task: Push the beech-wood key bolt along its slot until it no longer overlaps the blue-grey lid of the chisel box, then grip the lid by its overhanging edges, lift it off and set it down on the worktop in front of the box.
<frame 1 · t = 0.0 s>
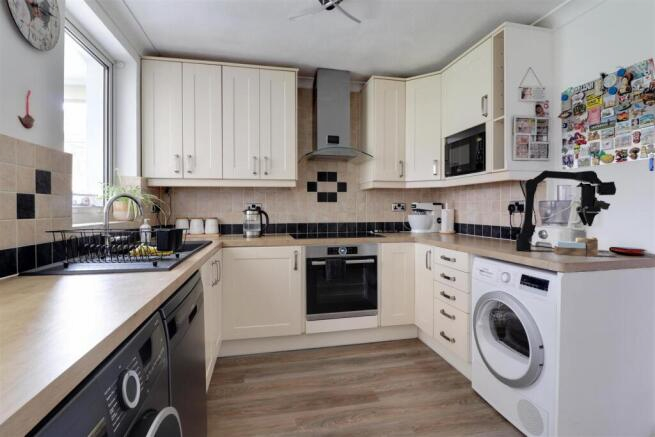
hand: (587, 225, 161), 15 cm above the countertop, fingers open, 9 cm apart
chisel box: (569, 254, 159), on the countertop
lid: (569, 246, 159), point 4 cm above the countertop, touching chisel box
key: (585, 239, 156), point 8 cm above the countertop, slide at 0.0 cm
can: (577, 251, 174), on the countertop
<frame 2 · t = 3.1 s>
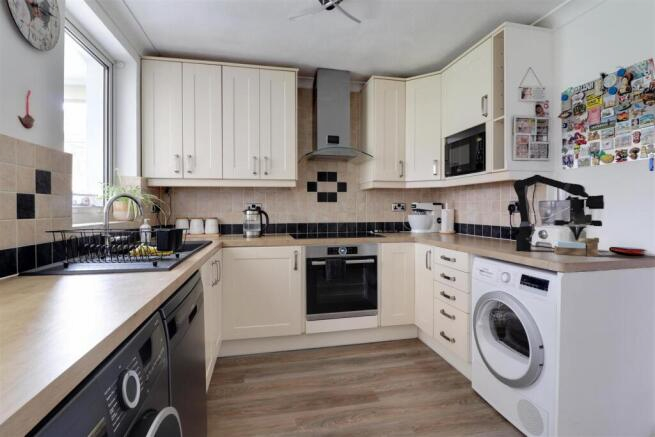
hand: (576, 240, 158), 8 cm above the countertop, fingers closed
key: (588, 239, 155), point 8 cm above the countertop, slide at 0.9 cm, touching gripper
everything else where it was.
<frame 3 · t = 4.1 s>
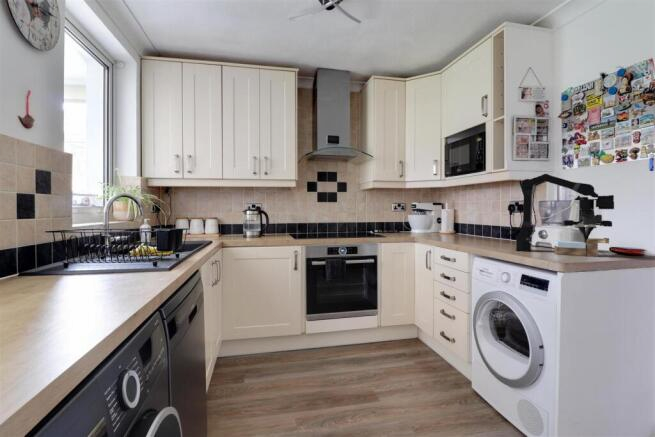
hand: (585, 240, 156), 8 cm above the countertop, fingers closed
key: (597, 240, 154), point 8 cm above the countertop, slide at 4.6 cm, touching gripper
everything else where it was.
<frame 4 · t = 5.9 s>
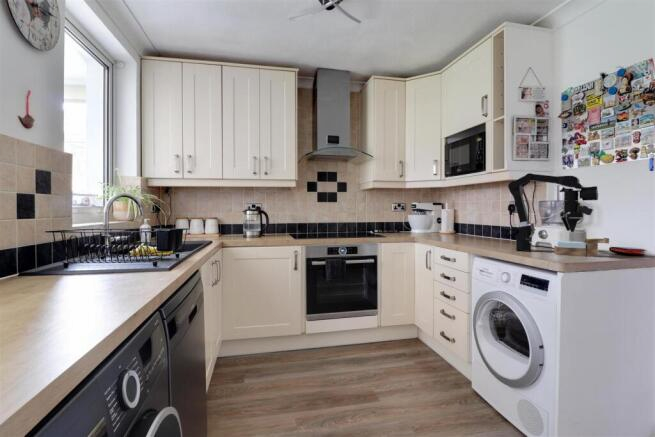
hand: (570, 231, 159), 12 cm above the countertop, fingers open, 9 cm apart
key: (597, 240, 154), point 8 cm above the countertop, slide at 4.6 cm
everything else where it was.
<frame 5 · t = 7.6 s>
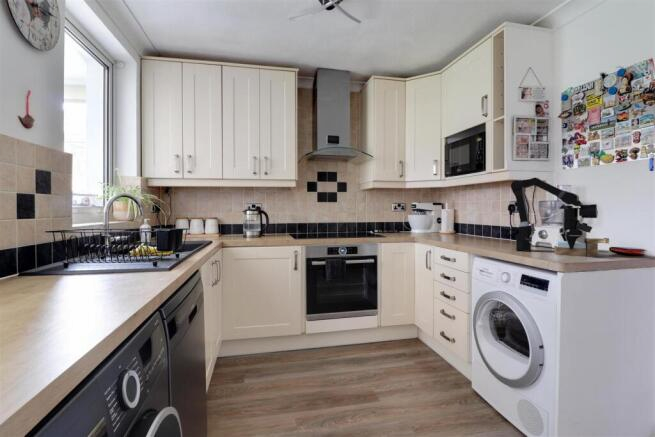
hand: (569, 248, 159), 3 cm above the countertop, fingers closed on lid, 7 cm apart
lid: (569, 246, 159), point 4 cm above the countertop, touching chisel box, gripper
everything else where it was.
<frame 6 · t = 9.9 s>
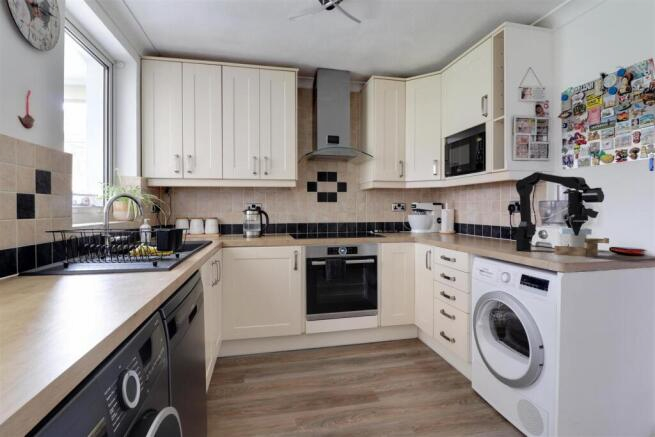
hand: (574, 235, 151), 11 cm above the countertop, fingers closed on lid, 7 cm apart
lid: (574, 233, 151), point 11 cm above the countertop, touching gripper
everything else where it was.
when the fingers open (1 cm above the countertop, at t = 12.5 s): lid drops 3 cm, on the countertop.
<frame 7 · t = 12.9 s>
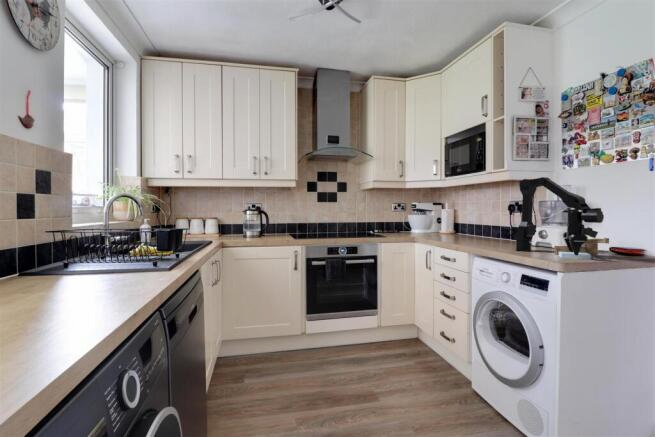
hand: (574, 254, 151), 2 cm above the countertop, fingers open, 9 cm apart
lid: (574, 258, 151), on the countertop
everything else where it was.
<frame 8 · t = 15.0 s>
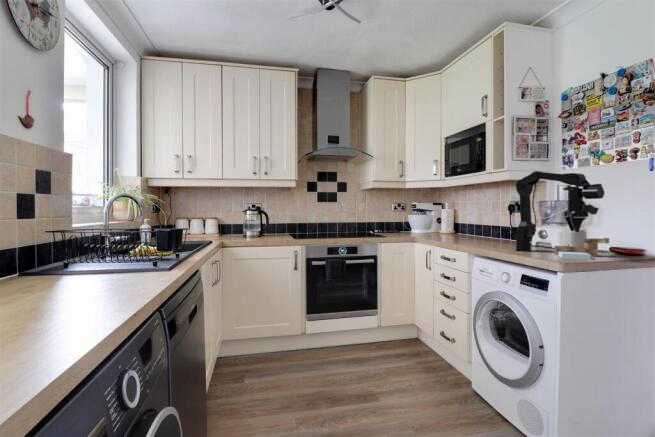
hand: (574, 231, 151), 12 cm above the countertop, fingers open, 9 cm apart
nothing on the countertop moved.
at the end: lid inside the target area (0.8 cm from its centre), on the countertop; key slide at 4.6 cm; lid tilted 0° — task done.
